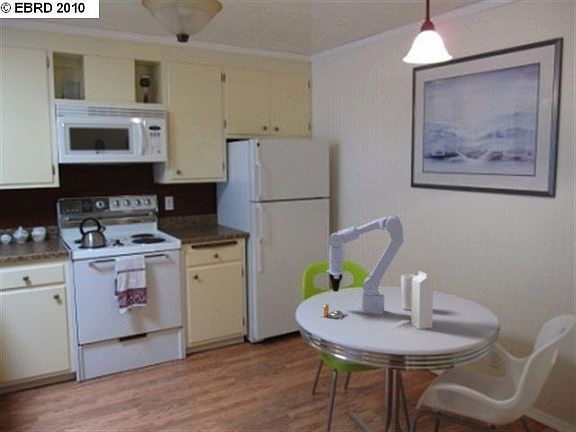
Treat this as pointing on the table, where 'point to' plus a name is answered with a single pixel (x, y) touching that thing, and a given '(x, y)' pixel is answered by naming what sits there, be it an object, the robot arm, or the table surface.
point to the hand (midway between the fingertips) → (335, 291)
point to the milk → (422, 301)
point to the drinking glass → (406, 291)
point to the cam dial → (332, 313)
